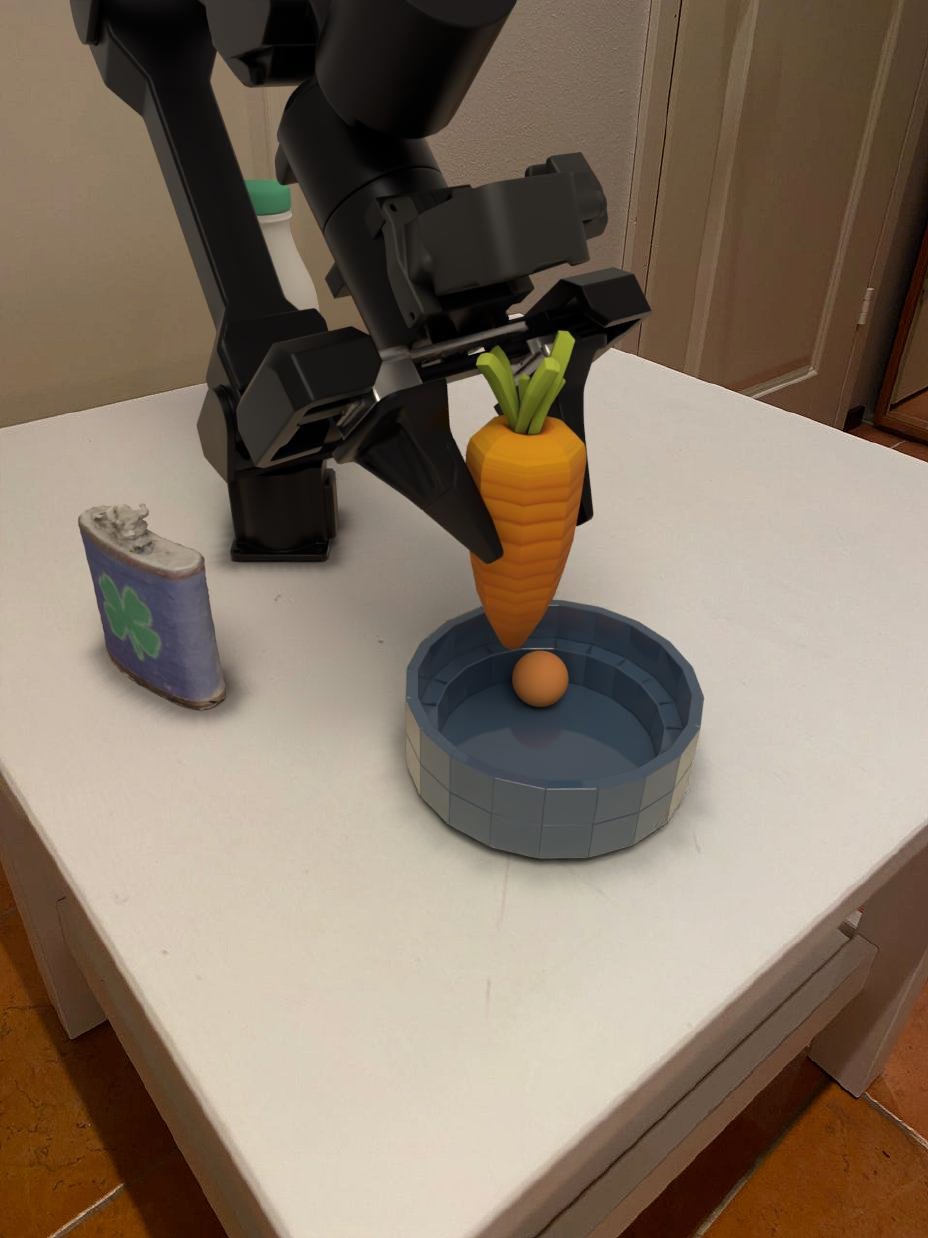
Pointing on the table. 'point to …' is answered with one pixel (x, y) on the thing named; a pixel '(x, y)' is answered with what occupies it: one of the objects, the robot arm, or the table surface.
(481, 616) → the bowl
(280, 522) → the robot arm
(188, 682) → the flask
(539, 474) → the carrot
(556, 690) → the ball
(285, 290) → the milk bottle
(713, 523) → the table surface
